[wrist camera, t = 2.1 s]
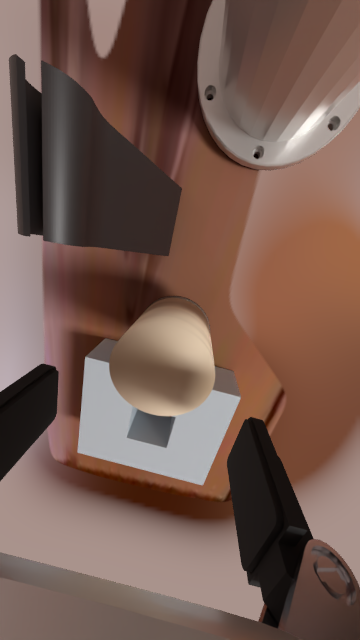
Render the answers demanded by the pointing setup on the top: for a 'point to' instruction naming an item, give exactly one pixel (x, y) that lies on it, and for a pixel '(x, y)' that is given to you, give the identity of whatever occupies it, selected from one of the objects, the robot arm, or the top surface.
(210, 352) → the beech peg
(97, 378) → the gray rectangular block
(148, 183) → the dark grey a-shaped piece
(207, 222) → the top surface
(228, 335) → the top surface
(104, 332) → the top surface
